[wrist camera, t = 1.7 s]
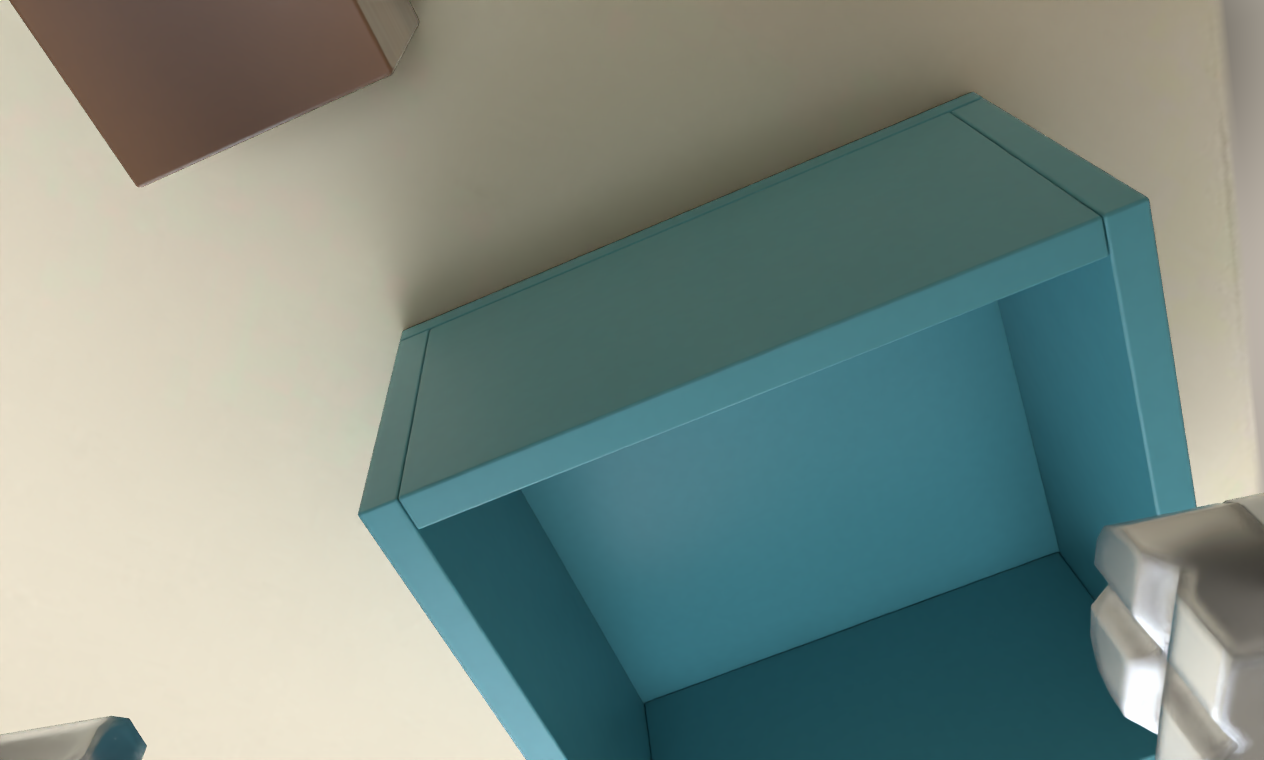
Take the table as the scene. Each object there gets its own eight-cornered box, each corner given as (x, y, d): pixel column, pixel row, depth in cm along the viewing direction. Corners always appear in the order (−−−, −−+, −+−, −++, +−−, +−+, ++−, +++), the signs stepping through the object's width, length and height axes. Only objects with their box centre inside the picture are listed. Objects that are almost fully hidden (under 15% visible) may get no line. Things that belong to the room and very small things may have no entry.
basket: (973, 90, 23) (1150, 197, 17) (1080, 547, 30) (1235, 751, 24) (401, 330, 25) (356, 515, 18) (627, 713, 32) (654, 947, 25)
